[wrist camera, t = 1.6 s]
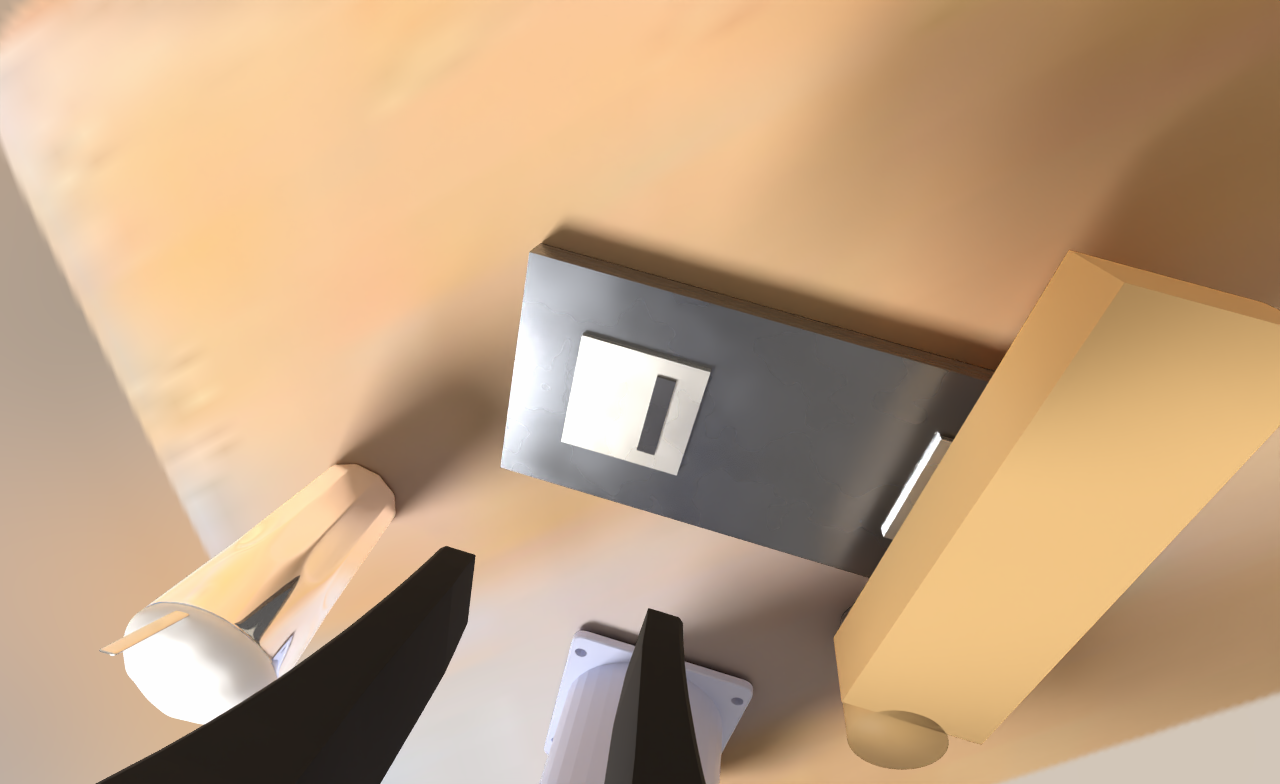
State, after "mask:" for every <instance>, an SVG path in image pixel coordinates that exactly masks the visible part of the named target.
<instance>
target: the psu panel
mask: <svg viewBox="0 0 1280 784" xmlns="http://www.w3.org/2000/svg"><path fill="white" fill-rule="evenodd" d="M994 373H995V371H992V370H989V369H985V368H981V367H978V366H974V365H971V364H967V363H964V362H960V361H957V360H953V359H950V358H946V357H942V356H939V355H935V354H932V353H928V352H925V351H921V350H918V349H914V348H911V347H907V346H903V345H900V344H896V343H893V342H889V341H886V340H882V339H879V338H875V337H871V336H868V335H864V334H861V333H857V332H854V331H850V330H847V329H843V328H840V327H836V326H832V325H829V324H825V323H822V322H818V321H815V320H811V319H808V318H804V317H801V316H797V315H793V314H790V313H786V312H783V311H779V310H776V309H772V308H769V307H765V306H761V305H758V304H754V303H751V302H747V301H744V300H740V299H737V298H733V297H730V296H726V295H722V294H719V293H715V292H712V291H708V290H705V289H701V288H698V287H694V286H691V285H687V284H683V283H680V282H676V281H673V280H669V279H666V278H662V277H659V276H655V275H651V274H648V273H644V272H641V271H637V270H634V269H630V268H627V267H623V266H620V265H616V264H612V263H609V262H605V261H602V260H598V259H595V258H591V257H588V256H584V255H581V254H577V253H573V252H570V251H566V250H563V249H559V248H556V247H552V246H549V245H545V244H542V243H540V244H539V245H538V246H536V247H535V248H534V249H533V250H531V251H530V252H529V259H528V266H527V274H526V281H525V289H524V296H523V303H522V311H521V318H520V326H519V333H518V340H517V348H516V355H515V363H514V370H513V377H512V385H511V392H510V400H509V407H508V414H507V422H506V429H505V437H504V444H503V451H502V459H501V466H500V467H501V468H504V469H507V470H511V471H514V472H518V473H521V474H524V475H528V476H531V477H534V478H538V479H541V480H544V481H548V482H551V483H554V484H558V485H561V486H564V487H568V488H571V489H574V490H578V491H581V492H584V493H588V494H591V495H594V496H598V497H601V498H604V499H608V500H611V501H614V502H618V503H621V504H624V505H628V506H631V507H634V508H638V509H641V510H644V511H648V512H651V513H654V514H658V515H661V516H664V517H668V518H671V519H674V520H678V521H681V522H685V523H688V524H691V525H695V526H698V527H701V528H705V529H708V530H711V531H715V532H718V533H721V534H725V535H728V536H731V537H735V538H738V539H741V540H745V541H748V542H751V543H755V544H758V545H761V546H765V547H768V548H771V549H775V550H778V551H781V552H785V553H788V554H791V555H795V556H798V557H801V558H805V559H808V560H811V561H815V562H818V563H821V564H825V565H828V566H831V567H835V568H838V569H841V570H845V571H848V572H852V573H855V574H858V575H862V576H865V577H868V578H870V577H871V575H872V574H873V572H874V570H875V569H876V567H877V565H878V564H879V562H880V560H881V559H882V557H883V556H884V554H885V552H886V551H887V549H888V547H889V546H890V544H891V542H892V541H893V539H894V537H895V536H896V534H897V532H898V531H899V529H900V528H901V526H902V524H903V523H904V521H905V519H906V518H907V516H908V514H909V513H910V511H911V509H912V508H913V506H914V504H915V503H916V501H917V500H918V498H919V496H920V495H921V493H922V491H923V490H924V488H925V486H926V485H927V483H928V481H929V480H930V478H931V476H932V475H933V473H934V471H935V470H936V468H937V467H938V465H939V463H940V462H941V460H942V458H943V457H944V455H945V453H946V452H947V450H948V448H949V447H950V445H951V443H952V442H953V440H954V439H955V437H956V435H957V434H958V432H959V430H960V429H961V427H962V425H963V424H964V422H965V420H966V419H967V417H968V415H969V414H970V412H971V411H972V409H973V407H974V406H975V404H976V402H977V401H978V399H979V397H980V396H981V394H982V392H983V391H984V389H985V387H986V386H987V384H988V383H989V381H990V379H991V378H992V376H993V374H994Z"/></svg>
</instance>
